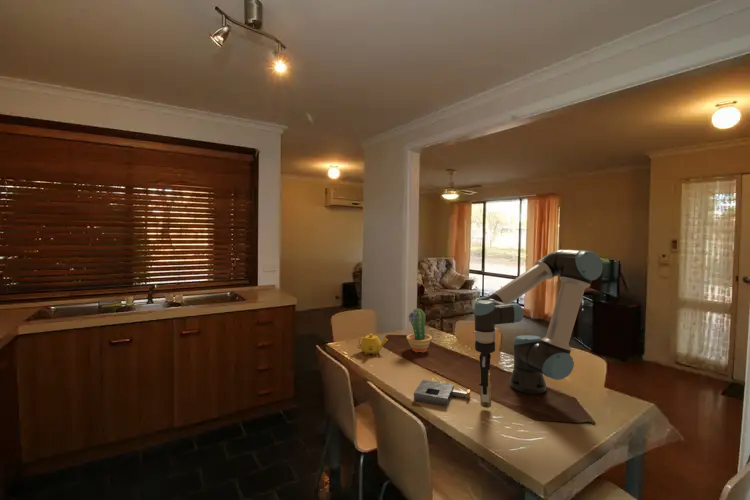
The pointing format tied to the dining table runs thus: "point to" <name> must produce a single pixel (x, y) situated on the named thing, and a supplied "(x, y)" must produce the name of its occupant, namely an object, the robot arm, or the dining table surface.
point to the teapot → (371, 344)
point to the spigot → (488, 404)
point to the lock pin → (461, 393)
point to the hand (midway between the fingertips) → (485, 398)
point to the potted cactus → (418, 331)
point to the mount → (434, 393)
